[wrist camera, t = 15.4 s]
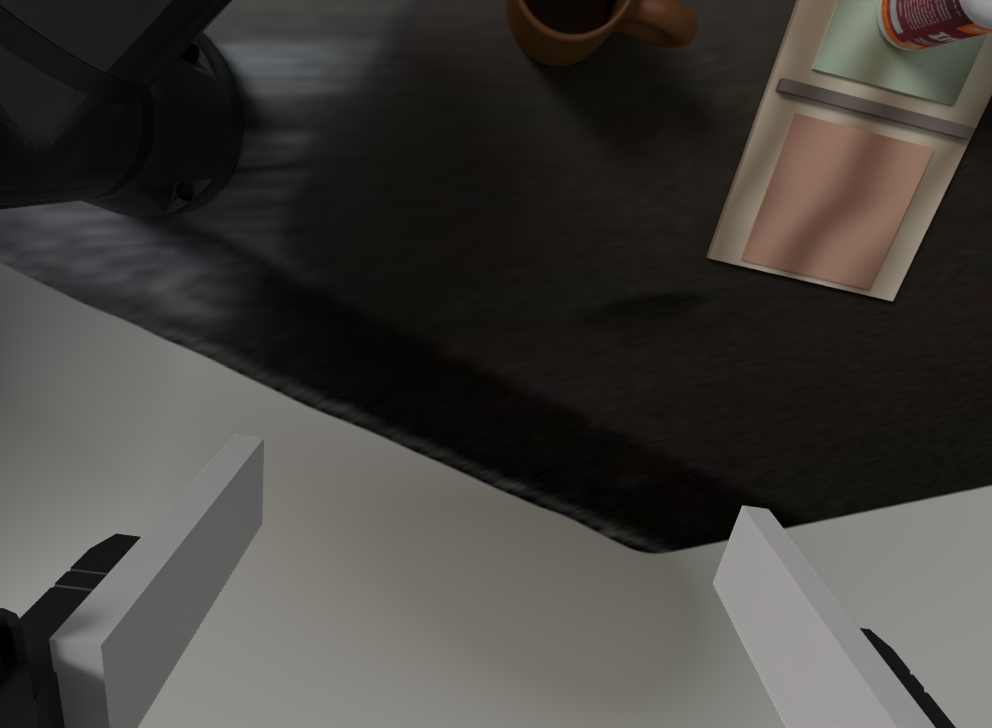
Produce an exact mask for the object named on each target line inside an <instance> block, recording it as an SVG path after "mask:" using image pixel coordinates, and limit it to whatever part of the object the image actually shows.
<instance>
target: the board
mask: <svg viewBox="0 0 992 728" xmlns="http://www.w3.org/2000/svg"><path fill="white" fill-rule="evenodd" d="M877 4H878V0H797V1H796V4H795V7H794V10H793V12H792V15H791V18H790V21H789V24H788V27H787V29H786V32H785V35H784V38H783V41H782V44H781V46H780V49H779V52H778V55H777V58H776V61H775V63H774V66H773V69H772V72H771V75H770V78H769V80H768V83H767V86H766V89H765V92H764V95H763V97H762V100H761V103H760V106H759V109H758V112H757V114H756V117H755V120H754V123H753V126H752V129H751V131H750V134H749V137H748V140H747V143H746V146H745V148H744V151H743V154H742V157H741V160H740V163H739V166H738V168H737V171H736V174H735V177H734V180H733V183H732V185H731V188H730V191H729V194H728V197H727V200H726V202H725V205H724V208H723V211H722V214H721V217H720V219H719V222H718V225H717V228H716V231H715V234H714V236H713V239H712V242H711V245H710V248H709V251H708V253H707V256H706V257H707V258H709V259H713V260H718V261H722V262H726V263H730V264H735V265H739V266H743V267H748V268H752V269H756V270H760V271H765V272H769V273H773V274H778V275H782V276H786V277H790V278H795V279H799V280H803V281H808V282H812V283H816V284H820V285H825V286H829V287H833V288H838V289H842V290H846V291H850V292H855V293H859V294H863V295H868V296H872V297H876V298H880V299H885V300H889V301H893V300H894V298H895V296H896V293H897V291H898V289H899V287H900V285H901V283H902V281H903V279H904V277H905V275H906V273H907V270H908V268H909V266H910V264H911V262H912V260H913V258H914V256H915V254H916V252H917V250H918V248H919V245H920V243H921V241H922V239H923V237H924V235H925V233H926V231H927V229H928V227H929V225H930V222H931V220H932V218H933V216H934V214H935V212H936V210H937V208H938V206H939V204H940V202H941V200H942V197H943V195H944V193H945V191H946V189H947V187H948V185H949V183H950V181H951V179H952V177H953V174H954V172H955V170H956V168H957V166H958V164H959V162H960V160H961V158H962V156H963V154H964V152H965V149H966V147H967V145H968V143H969V141H970V139H971V138H972V136H973V133H974V131H975V129H976V127H977V124H978V122H979V120H980V118H981V116H982V114H983V112H984V110H985V108H986V106H987V104H988V101H989V99H990V97H991V95H992V32H990V33H986V34H982V35H979V36H975V37H970V38H966V39H962V40H958V41H954V42H950V43H946V44H942V45H938V46H935V47H931V48H927V49H922V50H913V51H910V50H903V49H900V48H897V47H895V46H894V45H892V44H891V43H889V42H888V41H887V40H886V38H885V37H884V36H883V34H882V32H881V30H880V28H879V24H878V20H877Z"/></svg>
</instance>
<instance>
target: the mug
mask: <svg viewBox="0 0 992 728" xmlns="http://www.w3.org/2000/svg"><path fill="white" fill-rule="evenodd" d="M506 6H507V17H508V22H509V26H510V29H511V32H512V34H513V36H514V38H515V40H516V42H517V43H518V45H519V46H520V47H521V48H522V50H523V51H524V52H525V53H526V54H527V55H529V56H530V57H531V58H533V59H534V60H536V61H538V62H540V63H543V64H546V65H551V66H567V65H571V64H574V63H577V62H579V61H581V60H583V59H585V58H586V57H588V56H589V55H590V54H592V53H593V52H594V51H595V50H596V49H597V48H598V47H599V46H600V45H601V44H602V43H603V42H604V41H605V40H606V39H607V38H608V37H609V36H610V35H611V33H612V32H618V33H623V34H626V35H630V36H633V37H635V38H637V39H640V40H642V41H645V42H647V43H650V44H653V45H657V46H661V47H667V48H678V47H682V46H686V45H687V44H688V43H690V42H691V41H692V40H693V38H694V37H695V35H696V33H697V29H698V26H697V18H696V16H695V15H694V13H693V12H692V11H691V10H690V9H689V8H687V7H686V6H684V5H683V4H681V3H679V2H677V1H675V0H507V3H506Z"/></svg>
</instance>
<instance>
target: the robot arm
mask: <svg viewBox="0 0 992 728" xmlns="http://www.w3.org/2000/svg"><path fill="white" fill-rule="evenodd" d="M231 1H232V0H0V210H1V209H10V208H19V207H28V206H37V205H46V204H55V203H64V202H73V201H80V200H81V201H84V202H87V203H89V204H92V205H95V206H98V207H101V208H103V209H106V210H109V211H112V212H115V213H119V214H123V215H128V216H135V217H162V216H168V215H174V214H179V213H184V212H187V211H190V210H193V209H195V208H197V207H199V206H201V205H203V204H205V203H206V202H208V201H209V200H210V199H212V198H213V197H214V196H215V195H216V194H218V193H219V191H220V190H221V189H222V188H223V187H224V186H225V184H226V183H227V182H228V180H229V179H230V177H231V175H232V173H233V171H234V169H235V167H236V165H237V162H238V159H239V155H240V152H241V146H242V139H243V117H242V109H241V103H240V99H239V95H238V92H237V89H236V86H235V83H234V80H233V78H232V76H231V74H230V71H229V69H228V67H227V66H226V64H225V62H224V60H223V59H222V57H221V55H220V54H219V52H218V51H217V50H216V48H215V47H214V46H213V44H212V43H211V42H210V41H209V39H208V38H207V37H206V36H205V35H204V34H203V33H202V32H203V31H204V30H205V29H206V28H207V27H208V26H209V25H210V24H211V23H212V22H213V20H214V19H215V18H216V17H217V16H218V15H219V14H220V13H221V12H222V11H223V10H224V9H225V8H226V7H227V6H228V5H229V3H230V2H231ZM263 463H264V438H263V437H256V436H249V435H242V434H234V435H233V436H232V437H231V438H230V439H229V440H228V441H227V442H226V443H225V445H224V446H223V447H222V448H221V449H220V450H219V451H218V452H217V454H216V455H215V456H214V457H213V458H212V459H211V460H210V461H209V462H208V463H207V465H206V466H205V467H204V468H203V469H202V470H201V471H200V473H198V475H197V476H196V477H195V478H194V479H193V480H192V481H191V482H190V483H189V485H188V486H187V487H186V488H185V489H184V490H183V491H182V492H181V494H179V496H178V497H177V498H176V499H175V500H174V501H173V502H172V503H171V505H170V506H169V507H168V508H167V509H166V510H165V511H164V512H163V513H162V515H161V516H160V517H159V518H158V519H157V520H156V521H155V522H154V523H153V525H152V526H151V527H150V528H149V529H148V530H147V531H146V532H145V533H144V534H143V536H142V537H137V536H130V535H122V534H115V535H113V536H111V537H110V538H108V539H106V540H104V541H103V542H101V543H99V544H97V545H95V546H94V547H92V548H90V549H89V550H88V551H87V552H86V553H85V554H84V555H83V556H82V557H81V558H80V559H79V560H78V561H77V562H76V563H75V564H74V565H73V566H72V567H71V569H70V571H69V572H68V571H67V572H66V573H65V574H64V575H63V576H62V577H61V578H60V579H59V580H58V581H57V582H56V583H55V586H54V587H53V588H50V589H49V590H48V591H47V592H46V593H45V594H44V595H43V596H42V597H41V598H40V599H39V600H38V601H37V602H36V603H35V604H34V605H33V606H32V607H31V608H30V609H29V610H28V611H27V612H26V613H25V614H24V615H23V616H22V617H21V618H20V619H19V617H18V616H17V614H16V613H13V612H11V611H9V610H6V609H4V608H0V728H137V727H138V726H139V724H140V722H141V721H142V719H143V718H144V716H145V714H146V713H147V711H148V710H149V708H150V706H151V705H152V703H153V701H154V700H155V698H156V696H157V695H158V693H159V692H160V690H161V688H162V687H163V685H164V683H165V682H166V680H167V678H168V677H169V675H170V674H171V672H172V670H173V669H174V667H175V665H176V664H177V662H178V660H179V659H180V657H181V655H182V654H183V652H184V651H185V649H186V647H187V646H188V644H189V642H190V641H191V639H192V638H193V636H194V634H195V633H196V631H197V629H198V628H199V626H200V624H201V623H202V621H203V619H204V618H205V616H206V615H207V613H208V611H209V610H210V608H211V606H212V605H213V603H214V602H215V600H216V598H217V597H218V595H219V593H220V592H221V590H222V588H223V587H224V585H225V584H226V582H227V580H228V579H229V577H230V575H231V574H232V572H233V570H234V569H235V567H236V566H237V564H238V562H239V561H240V559H241V557H242V556H243V554H244V553H245V551H246V549H247V548H248V546H249V544H250V543H251V541H252V539H253V538H254V536H255V535H256V533H257V531H258V530H259V528H260V526H261V524H262V505H263V504H262V503H263ZM713 585H714V587H715V589H716V591H717V593H718V595H719V597H720V599H721V601H722V603H723V605H724V607H725V609H726V611H727V613H728V615H729V617H730V619H731V621H732V623H733V625H734V627H735V629H736V631H737V633H738V634H739V637H740V639H741V641H742V643H743V645H744V647H745V649H746V651H747V653H748V655H749V657H750V658H751V660H752V662H753V664H754V666H755V668H756V670H757V672H758V674H759V676H760V678H761V680H762V682H763V684H764V686H765V688H766V690H767V692H768V694H769V696H770V698H771V700H772V702H773V704H774V706H775V708H776V710H777V712H778V714H779V716H780V718H781V720H782V722H783V724H784V726H785V728H955V727H954V725H953V724H952V722H951V721H950V720H949V719H948V717H947V716H946V715H945V714H944V712H943V711H942V710H941V709H940V707H939V706H938V705H937V704H936V702H935V701H934V700H933V699H932V697H931V696H930V695H929V694H928V693H925V692H924V687H923V686H922V685H921V684H920V682H919V681H918V680H917V679H916V677H915V676H914V675H911V674H910V670H909V669H908V668H907V666H906V665H905V664H904V663H903V661H902V660H901V659H900V658H899V656H898V655H897V654H896V653H895V652H894V650H893V649H892V648H891V647H890V646H889V645H887V644H886V643H885V642H884V641H883V640H881V639H880V638H879V637H878V636H877V635H876V634H874V633H873V632H872V631H871V630H870V629H863V628H859V627H858V626H857V624H856V623H855V622H854V620H853V619H852V618H851V616H850V615H849V614H848V613H847V611H846V610H845V609H844V607H843V606H842V605H841V603H840V602H839V601H838V599H837V598H836V597H835V596H834V594H833V593H832V592H831V590H830V589H829V588H828V586H827V585H826V584H825V582H824V581H823V580H822V579H821V577H820V576H819V575H818V573H817V572H816V571H815V570H814V568H813V567H812V565H811V564H810V563H809V562H808V560H807V559H806V558H805V556H804V555H803V554H802V552H801V551H800V550H799V549H798V547H797V546H796V545H795V543H794V542H793V541H792V539H791V538H790V537H789V536H788V534H787V533H786V531H785V530H784V529H783V528H782V526H781V525H780V524H779V522H778V521H777V520H776V518H775V517H774V516H773V514H772V513H771V512H770V511H769V509H763V508H756V507H749V506H742V508H741V510H740V513H739V515H738V518H737V521H736V523H735V526H734V528H733V531H732V534H731V536H730V539H729V541H728V544H727V547H726V549H725V552H724V555H723V557H722V560H721V563H720V565H719V568H718V570H717V573H716V575H715V578H714V581H713Z"/></svg>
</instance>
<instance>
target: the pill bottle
mask: <svg viewBox="0 0 992 728" xmlns="http://www.w3.org/2000/svg"><path fill="white" fill-rule="evenodd" d="M877 20H878V24H879V28H880V30H881V32H882V34H883V36H884V37H885V38H886V40H887V41H888V42H889V43H891V44H892V45H894V46H895V47H897V48H900V49H903V50H910V51H913V50H922V49H927V48H931V47H935V46H938V45H942V44H946V43H950V42H954V41H958V40H962V39H966V38H970V37H975V36H979V35H982V34H986V33H990V32H992V0H878V4H877Z"/></svg>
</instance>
